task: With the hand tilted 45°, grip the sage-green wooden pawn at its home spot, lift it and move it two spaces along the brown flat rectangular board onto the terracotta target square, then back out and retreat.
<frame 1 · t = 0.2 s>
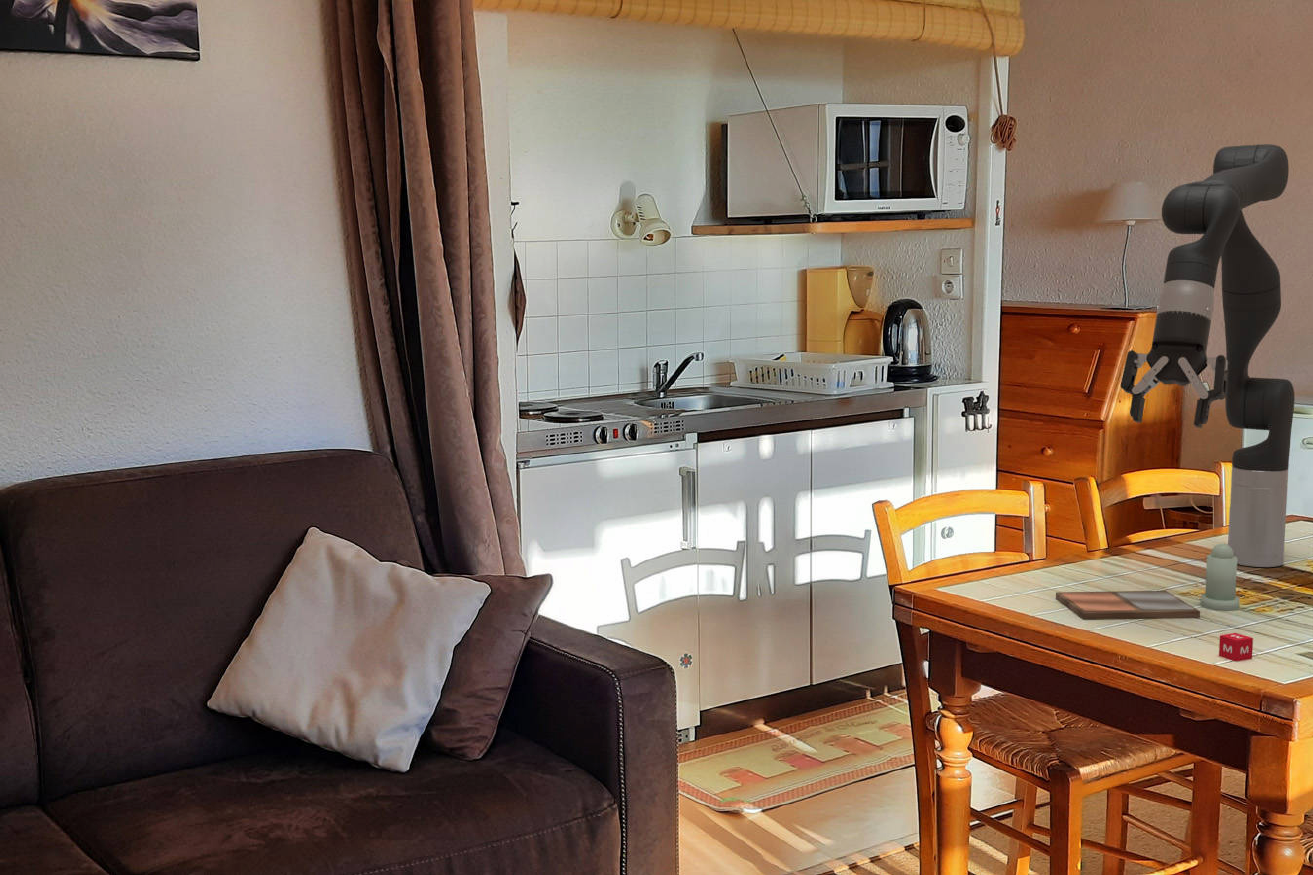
hand: (1166, 424, 196), 31 cm above the table, tool tilted 20°, fingers open, 8 cm apart
brown flat rectangular board: (1125, 607, 213), on the table
pawn: (1219, 606, 214), on the table
dice: (1235, 659, 187), on the table
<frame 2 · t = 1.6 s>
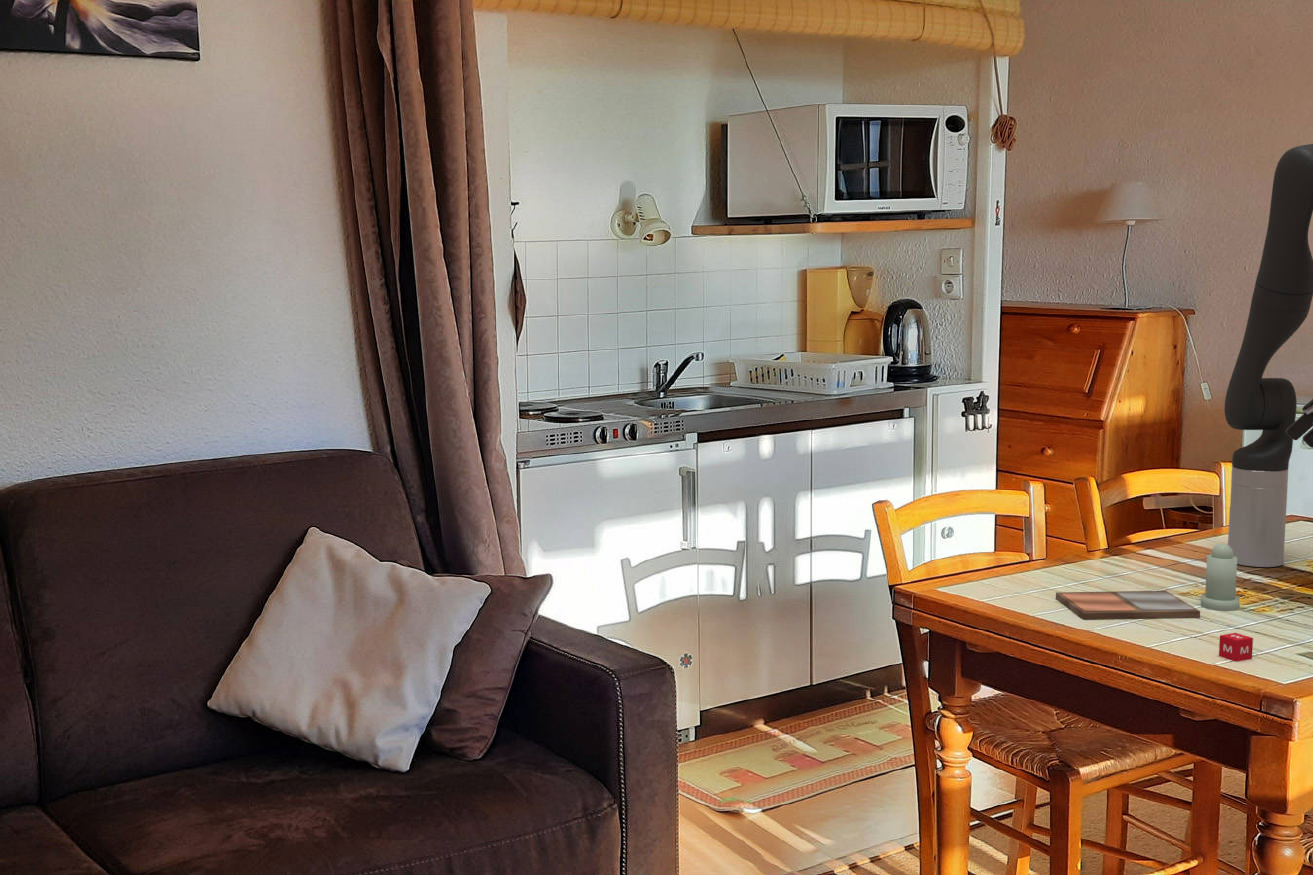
hand: (1298, 439, 209), 27 cm above the table, tool tilted 45°, fingers open, 8 cm apart
nothing on the table moved.
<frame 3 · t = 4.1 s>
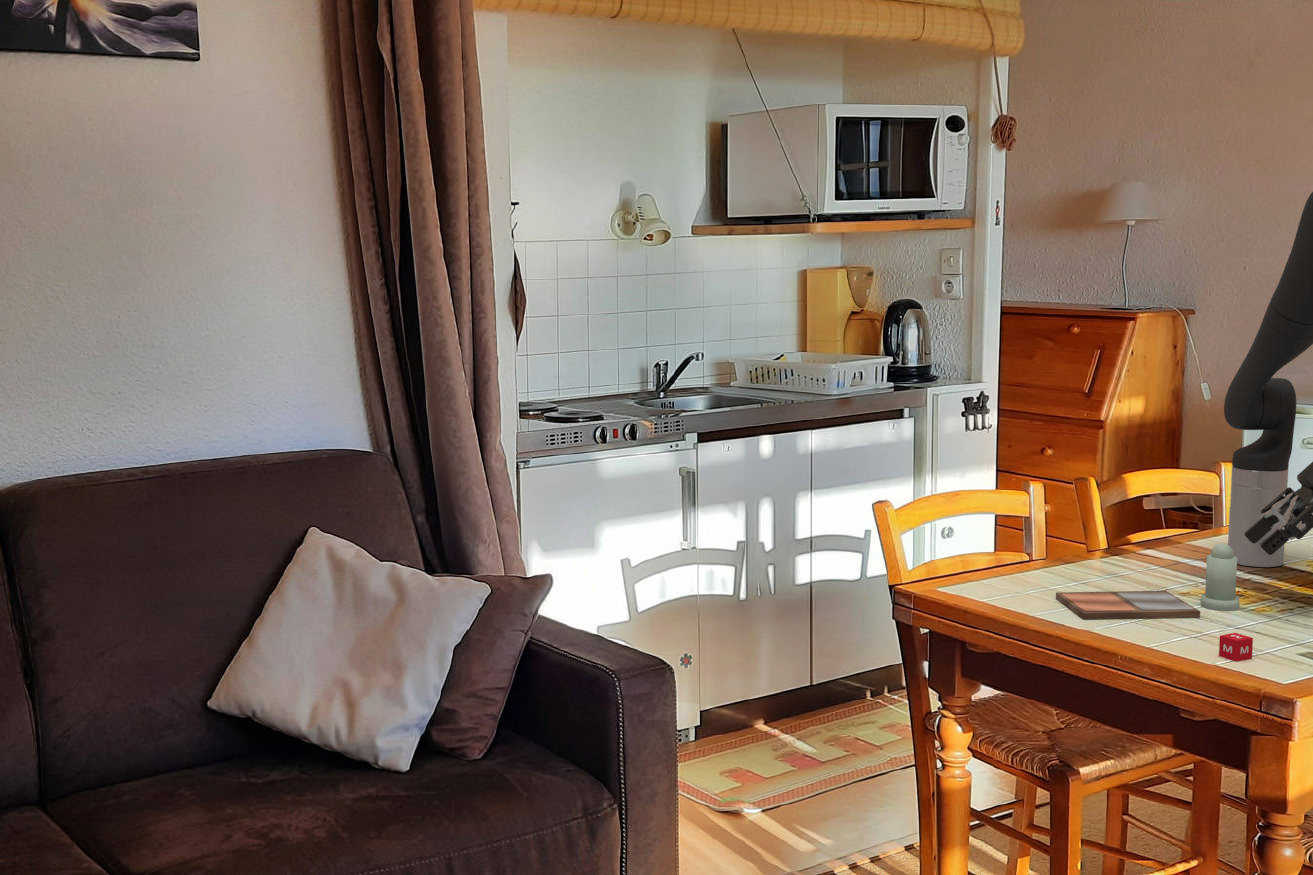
hand: (1256, 544, 212), 10 cm above the table, tool tilted 45°, fingers open, 8 cm apart
nothing on the table moved.
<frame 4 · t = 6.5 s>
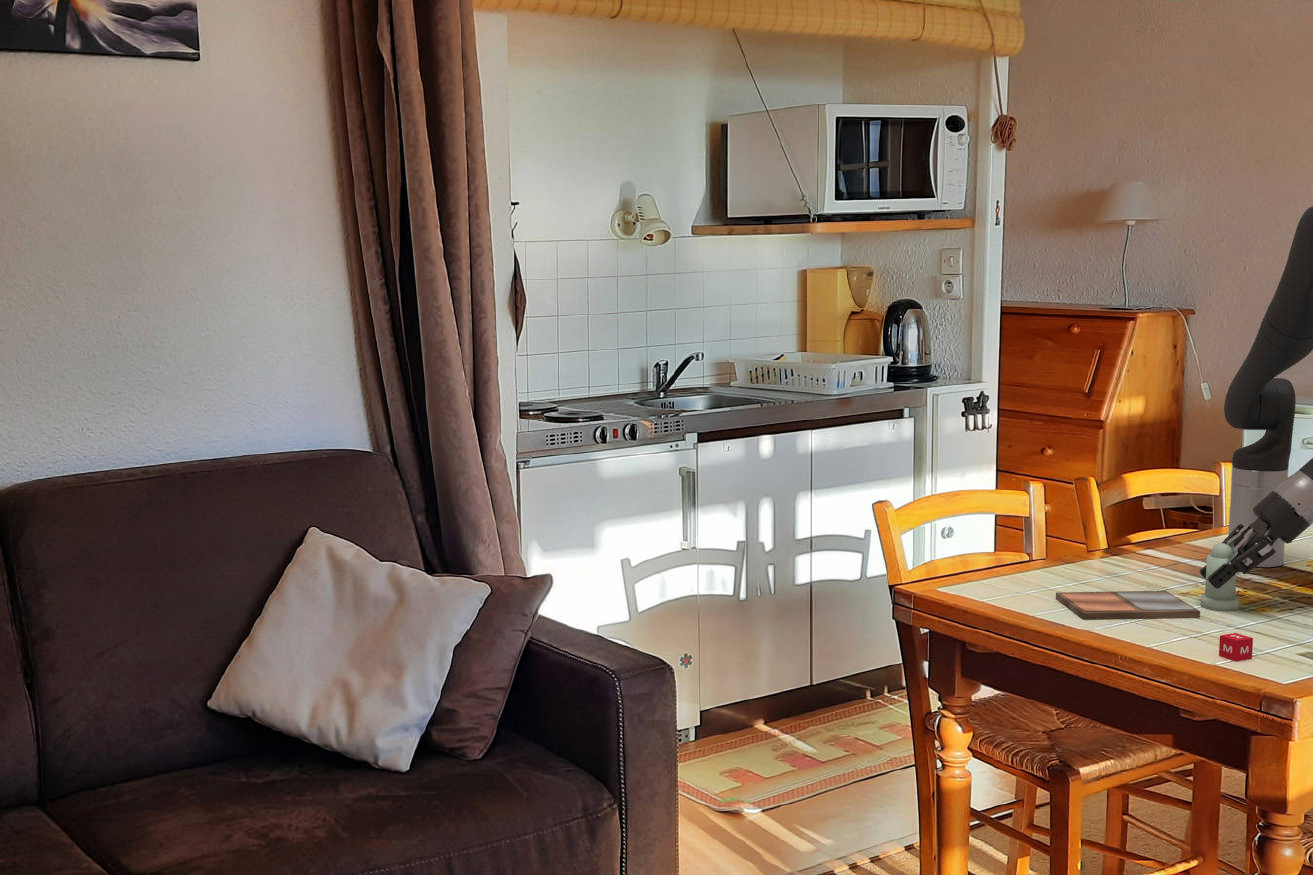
hand: (1208, 580, 214), 4 cm above the table, tool tilted 45°, fingers closed on pawn, 4 cm apart
pawn: (1219, 606, 214), on the table, touching gripper
everything else where it was.
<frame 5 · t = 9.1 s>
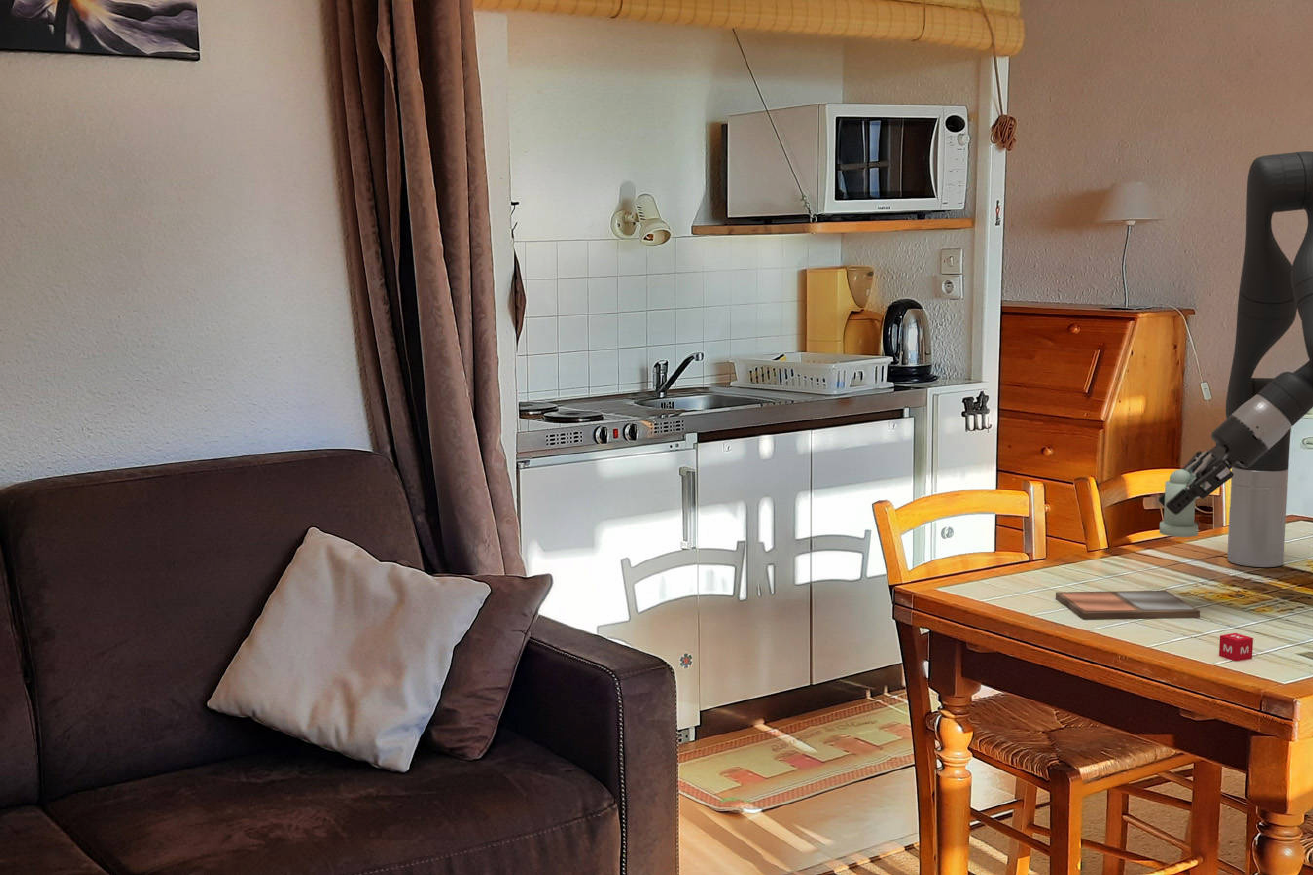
hand: (1166, 507, 211), 16 cm above the table, tool tilted 45°, fingers closed on pawn, 4 cm apart
pawn: (1178, 533, 212), point 12 cm above the table, touching gripper
everything else where it was.
when the fingers open (7 cm above the table, at t = 12.2 s): pawn drops 1 cm, resting on brown flat rectangular board.
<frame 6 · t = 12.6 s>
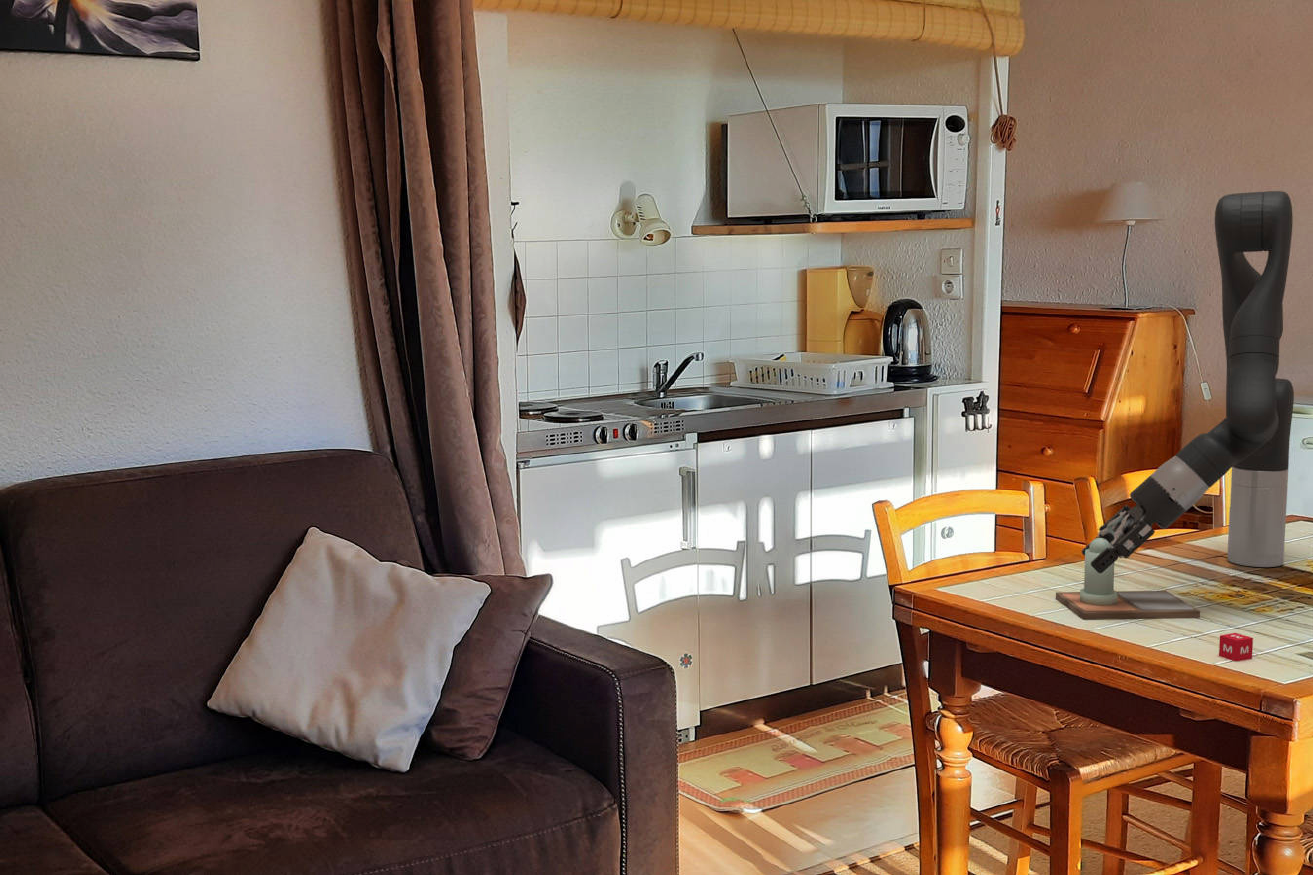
hand: (1090, 562, 213), 7 cm above the table, tool tilted 45°, fingers open, 8 cm apart
pawn: (1098, 601, 213), point 1 cm above the table, touching brown flat rectangular board
everything else where it was.
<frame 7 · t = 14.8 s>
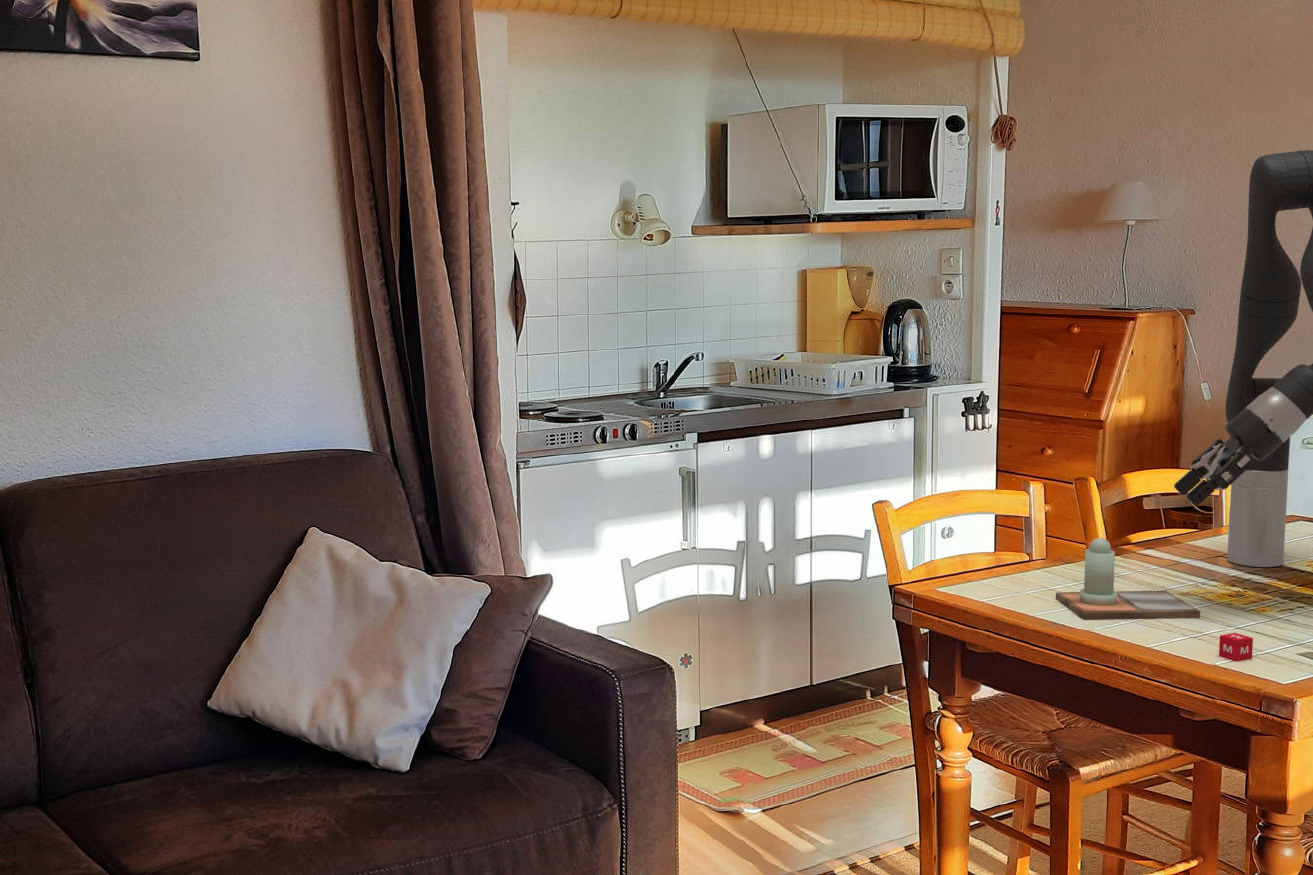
hand: (1184, 496, 211), 18 cm above the table, tool tilted 45°, fingers open, 8 cm apart
nothing on the table moved.
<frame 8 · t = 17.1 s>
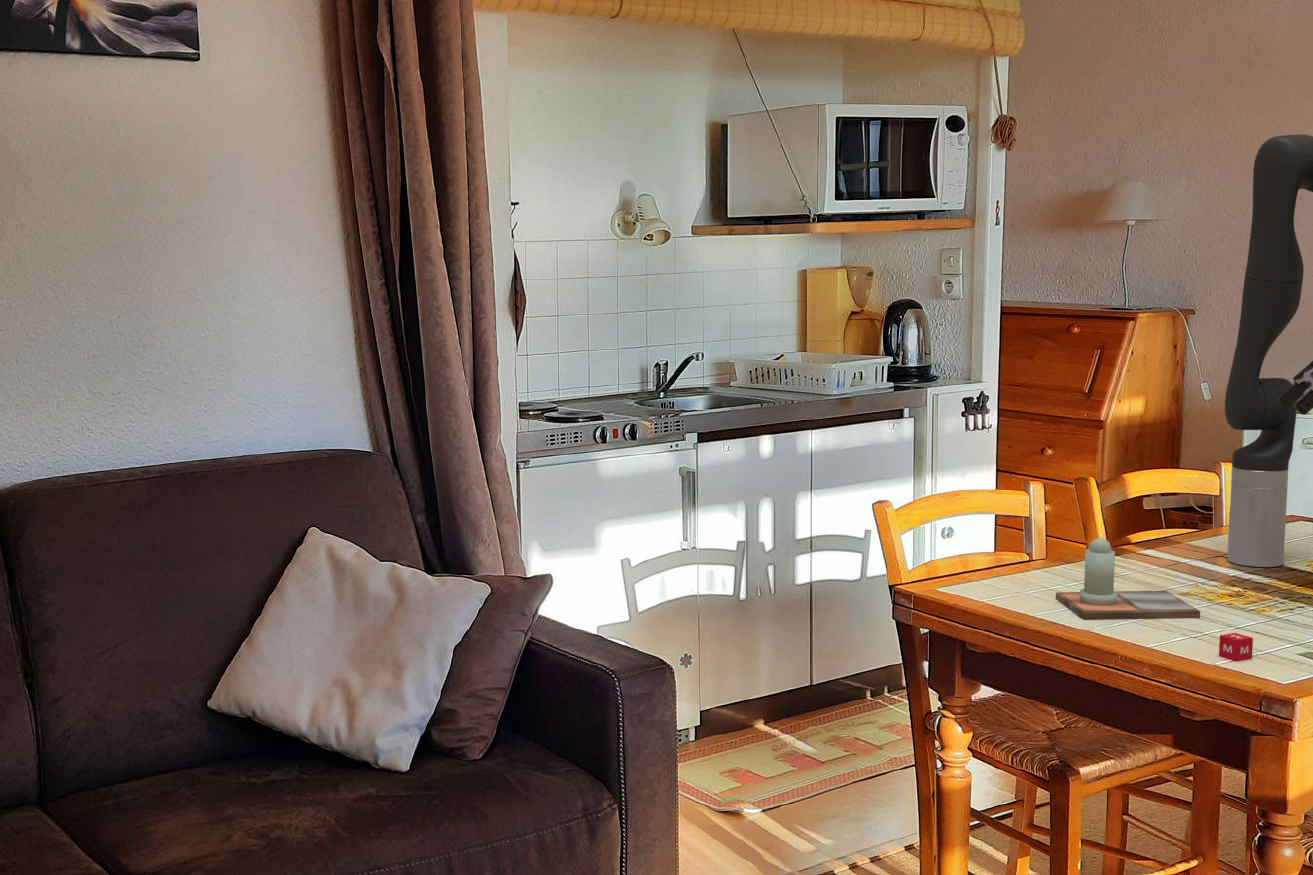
hand: (1289, 407, 216), 31 cm above the table, tool tilted 45°, fingers open, 8 cm apart
nothing on the table moved.
at the end: pawn inside the target area on the brown flat rectangular board (0.1 cm from its centre), point 1.1 cm above the brown flat rectangular board's base; pawn tilted 0°; the gripper is holding nothing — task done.
